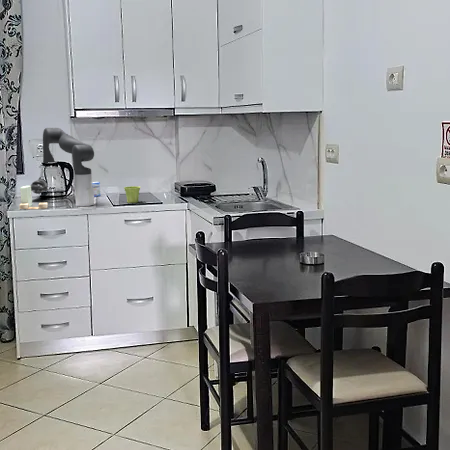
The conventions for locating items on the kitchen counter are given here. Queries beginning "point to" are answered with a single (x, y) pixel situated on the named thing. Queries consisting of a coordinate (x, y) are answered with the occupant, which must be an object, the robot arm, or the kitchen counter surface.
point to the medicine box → (96, 188)
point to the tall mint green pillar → (26, 195)
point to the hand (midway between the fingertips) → (31, 190)
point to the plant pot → (132, 194)
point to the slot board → (26, 206)
